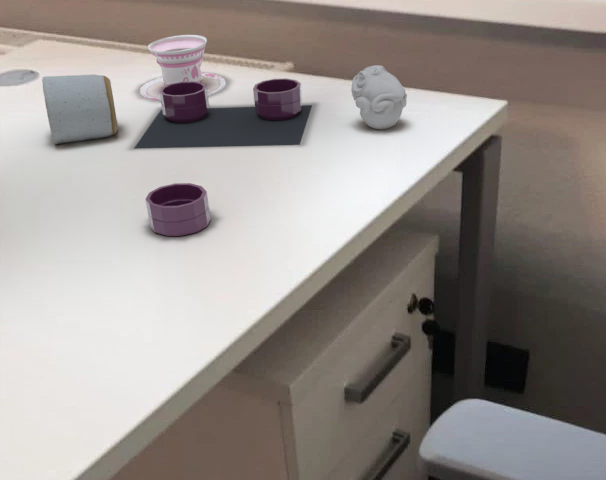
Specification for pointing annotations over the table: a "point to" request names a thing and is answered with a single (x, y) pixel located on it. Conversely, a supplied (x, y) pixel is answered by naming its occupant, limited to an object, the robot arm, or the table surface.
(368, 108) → the frog figurine
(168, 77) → the teacup
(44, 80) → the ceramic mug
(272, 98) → the dish right
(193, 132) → the mat
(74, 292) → the table surface
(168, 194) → the dish middle
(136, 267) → the table surface
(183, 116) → the dish left
